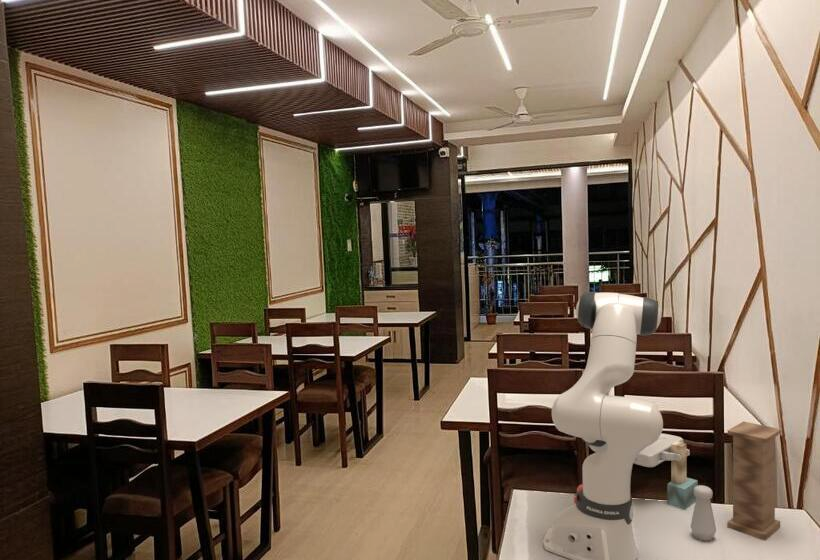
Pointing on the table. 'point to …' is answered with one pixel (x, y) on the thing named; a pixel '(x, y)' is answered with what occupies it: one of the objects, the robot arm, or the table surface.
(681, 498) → the mallet
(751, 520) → the pedestal
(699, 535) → the salt shaker
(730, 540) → the table surface
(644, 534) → the table surface
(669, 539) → the table surface
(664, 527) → the table surface
